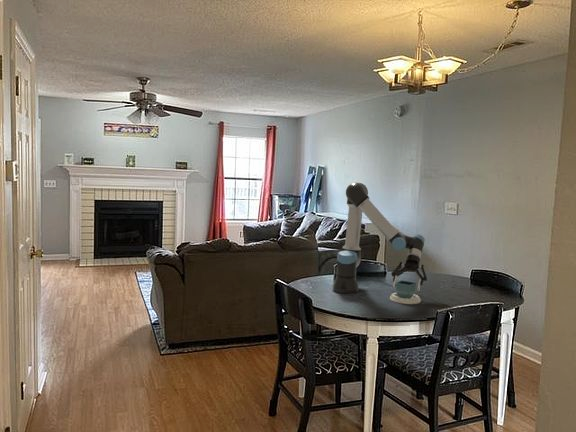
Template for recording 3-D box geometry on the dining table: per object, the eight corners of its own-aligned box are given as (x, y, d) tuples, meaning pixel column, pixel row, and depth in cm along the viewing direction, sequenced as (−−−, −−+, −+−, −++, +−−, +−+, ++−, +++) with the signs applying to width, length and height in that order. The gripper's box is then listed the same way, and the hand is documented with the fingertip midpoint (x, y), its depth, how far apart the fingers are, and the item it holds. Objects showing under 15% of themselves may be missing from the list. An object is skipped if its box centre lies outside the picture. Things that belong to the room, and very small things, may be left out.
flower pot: (401, 295, 285) (401, 280, 284) (415, 298, 280) (416, 282, 279) (394, 298, 278) (395, 282, 277) (409, 301, 273) (409, 285, 272)
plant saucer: (403, 305, 267) (403, 300, 267) (383, 297, 282) (383, 293, 282) (427, 302, 275) (427, 298, 275) (406, 295, 290) (406, 291, 290)
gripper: (436, 264, 286) (429, 294, 275) (393, 259, 298) (385, 288, 286) (434, 256, 281) (427, 287, 269) (391, 251, 292) (383, 281, 281)
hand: (406, 288), depth 278 cm, fingers open, 13 cm apart
